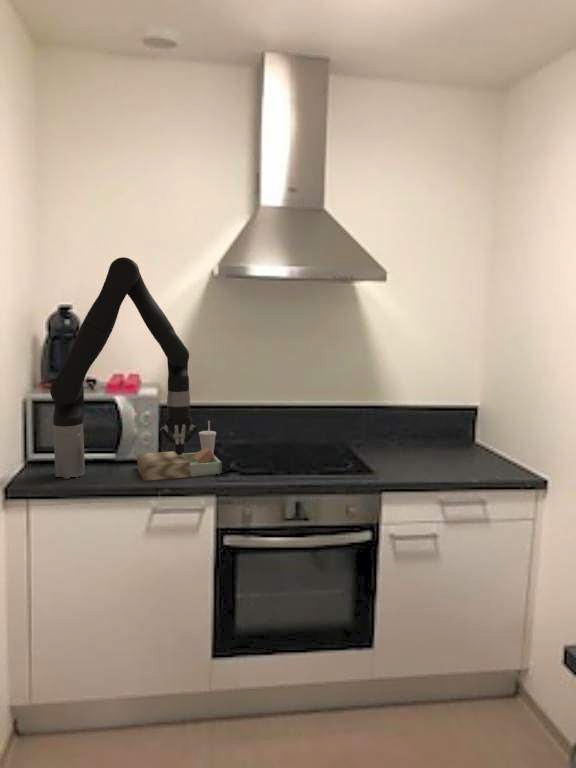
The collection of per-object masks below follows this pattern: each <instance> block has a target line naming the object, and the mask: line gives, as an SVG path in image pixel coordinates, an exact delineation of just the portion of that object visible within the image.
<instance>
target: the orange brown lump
mask: <svg viewBox="0 0 576 768" xmlns="http://www.w3.org/2000/svg"><path fill="white" fill-rule="evenodd" d="M197 452H198V453H197ZM197 452H196V453H197V454H196V455H195V456H193V457H194V459H195V460H196V461H197V462H198V463H199V464H200V463H207V462H209V461H210V460H211V459H212V458H213V457H215V456H216V455H215V454H214V453H213V454H214V455H215V456H214V455H213V454H212V453H211V451H210V450H209V449H208V448H206V447H204V448H203V449H202V450H199V451H197Z"/></svg>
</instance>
